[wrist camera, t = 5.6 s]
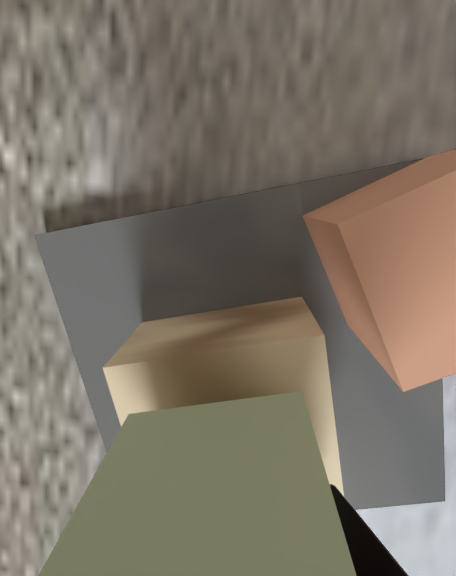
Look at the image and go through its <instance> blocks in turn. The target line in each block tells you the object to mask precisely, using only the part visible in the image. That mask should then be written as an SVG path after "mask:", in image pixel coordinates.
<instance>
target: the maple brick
mask: <svg viewBox="0 0 456 576" xmlns="http://www.w3.org/2000/svg"><path fill="white" fill-rule="evenodd" d="M103 371H104V374H105V377H106V380H107V384H108V387H109V390H110V393H111V396H112V399H113V403H114V406H115V409H116V412H117V415H118V419H119V422H120V425H121V427H122V425H123V423H124V421H125V419H126V418H127V416H128V414H132V413H139V412H147V411H155V410H162V409H170V408H177V407H185V406H193V405H200V404H208V403H215V402H223V401H231V400H238V399H246V398H253V397H261V396H269V395H276V394H284V393H292V392H299V391H302V393H303V396H304V400H305V403H306V406H307V410H308V413H309V416H310V420H311V423H312V427H313V430H314V433H315V437H316V440H317V444H318V447H319V450H320V454H321V457H322V460H323V464H324V467H325V471H326V474H327V477H328V481H329V484H333V485H335V486H336V488H337V489H338V490H339V491H340V492H341V494H342V495H343V496H344V492H343V483H342V475H341V467H340V459H339V450H338V442H337V434H336V426H335V417H334V409H333V401H332V393H331V384H330V376H329V368H328V360H327V351H326V343H325V335H324V333H323V331H322V330H321V328H320V326H319V325H318V323H317V321H316V320H315V318H314V316H313V315H312V313H311V311H310V309H309V308H308V306H307V304H306V303H305V301H304V299H303V298H302V297H296V298H290V299H284V300H278V301H272V302H265V303H259V304H253V305H247V306H241V307H234V308H228V309H222V310H216V311H210V312H203V313H197V314H191V315H185V316H179V317H173V318H166V319H160V320H154V321H148V322H142V323H141V324H140V325H139V326H138V327H137V329H136V330H135V331H134V332H133V333H132V334H131V335H130V337H129V338H128V339H127V340H126V341H125V342H124V344H123V345H122V346H121V347H120V348H119V349H118V351H117V352H116V353H115V354H114V355H113V356H112V357H111V359H110V360H109V361H108V362H107V363H106V364H105V366H104V367H103Z"/></svg>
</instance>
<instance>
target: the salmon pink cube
mask: <svg viewBox="0 0 456 576" xmlns="http://www.w3.org/2000/svg"><path fill="white" fill-rule="evenodd" d="M303 218H304V221H305V223H306V226H307V228H308V230H309V233H310V235H311V238H312V240H313V242H314V245H315V247H316V250H317V252H318V255H319V257H320V259H321V262H322V264H323V267H324V269H325V271H326V274H327V276H328V279H329V281H330V283H331V286H332V288H333V291H334V293H335V296H336V298H337V300H338V303H339V305H340V308H341V310H342V312H343V315H344V317H345V320H346V322H347V324H348V326H349V327H350V328H351V329H352V331H353V332H354V333H355V334H356V335H357V337H358V338H359V339H360V340H361V342H362V343H363V344H364V345H365V346H366V348H367V349H368V350H369V351H370V352H371V354H372V355H373V356H374V357H375V358H376V360H377V361H378V362H379V363H380V364H381V366H382V367H383V368H384V369H385V371H386V372H387V373H388V374H389V375H390V377H391V378H392V379H393V380H394V381H395V383H396V384H397V385H398V386H399V387H400V389H401V390H402V391H403V392H405V391H408V390H411V389H413V388H416V387H419V386H422V385H424V384H427V383H430V382H433V381H436V380H438V379H441V378H444V377H447V376H450V375H452V374H455V373H456V149H455V150H451V151H447V152H443V153H439V154H435V155H431V156H428V157H426V158H424V159H422V160H420V161H418V162H416V163H414V164H411V165H409V166H407V167H405V168H403V169H401V170H399V171H397V172H394V173H392V174H390V175H388V176H386V177H384V178H382V179H380V180H377V181H375V182H373V183H371V184H369V185H367V186H365V187H363V188H360V189H358V190H356V191H354V192H352V193H350V194H348V195H346V196H343V197H341V198H339V199H337V200H335V201H333V202H331V203H329V204H326V205H324V206H322V207H320V208H318V209H316V210H314V211H312V212H309V213H307V214H305V215H303Z"/></svg>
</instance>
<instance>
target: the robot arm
mask: <svg viewBox="0 0 456 576" xmlns="http://www.w3.org/2000/svg"><path fill="white" fill-rule="evenodd" d="M330 488H331V491H332V494H333V498H334V501H335V504H336V508H337V511H338V515H339V518H340V521H341V525H342V528H343V532H344V535H345V538H346V542H347V545H348V548H349V552H350V555H351V559H352V562H353V565H354V569H355V572H356V576H408V575H407V573H406V572H405V571H404V570H403V568H402V567H401V566H400V565H399V564H398V562H397V561H396V560H395V559H394V557H393V556H392V555H391V554H390V552H389V551H388V550H387V549H386V548H385V546H384V545H383V544H382V543H381V541H380V540H379V539H378V538H377V537H376V535H375V534H374V533H373V532H372V530H371V529H370V528H369V527H368V526H367V524H366V523H365V522H364V521H363V519H362V518H361V517H360V516H359V515H358V513H357V512H356V511H355V510H354V508H353V507H352V506H351V505H350V503H349V502H348V501H347V500H346V499H345V497H344V496H343V495H342V494H341V492H340V491H339V490H338V489H337V488H336V486H335V485H333V484H330Z"/></svg>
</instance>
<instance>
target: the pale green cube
mask: <svg viewBox="0 0 456 576" xmlns="http://www.w3.org/2000/svg"><path fill="white" fill-rule="evenodd" d="M39 576H356V572H355V569H354V565H353V562H352V559H351V555H350V552H349V548H348V545H347V542H346V538H345V535H344V532H343V528H342V525H341V521H340V518H339V515H338V511H337V508H336V504H335V501H334V498H333V494H332V491H331V488H330V484H329V481H328V477H327V474H326V471H325V467H324V464H323V460H322V457H321V454H320V450H319V447H318V444H317V440H316V437H315V433H314V430H313V427H312V423H311V420H310V416H309V413H308V410H307V406H306V403H305V400H304V396H303V393H302V391H299V392H292V393H284V394H276V395H269V396H261V397H253V398H246V399H238V400H231V401H223V402H215V403H208V404H200V405H193V406H185V407H177V408H170V409H162V410H155V411H147V412H139V413H132V414H128V416H127V418H126V419H125V421H124V423H123V425H122V427H121V428H120V430H119V432H118V434H117V436H116V437H115V439H114V441H113V443H112V445H111V446H110V448H109V450H108V452H107V454H106V455H105V457H104V459H103V461H102V463H101V464H100V466H99V468H98V470H97V472H96V473H95V475H94V477H93V479H92V481H91V482H90V484H89V486H88V488H87V489H86V491H85V493H84V495H83V497H82V498H81V500H80V502H79V504H78V506H77V507H76V509H75V511H74V513H73V515H72V516H71V518H70V520H69V522H68V524H67V525H66V527H65V529H64V531H63V533H62V534H61V536H60V538H59V540H58V542H57V543H56V545H55V547H54V549H53V551H52V552H51V554H50V556H49V558H48V560H47V561H46V563H45V565H44V567H43V569H42V570H41V572H40V574H39Z"/></svg>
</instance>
